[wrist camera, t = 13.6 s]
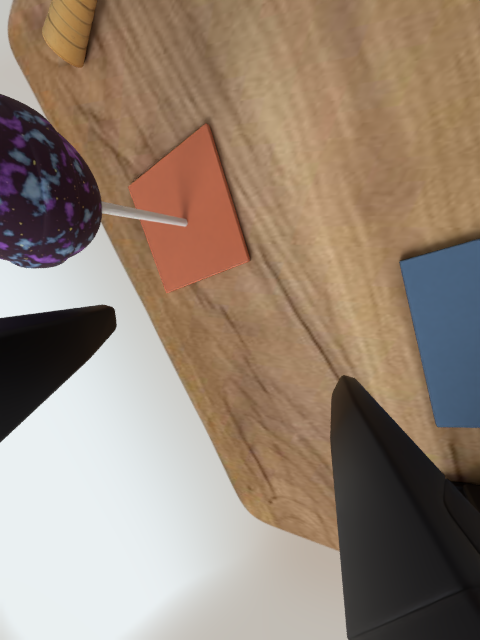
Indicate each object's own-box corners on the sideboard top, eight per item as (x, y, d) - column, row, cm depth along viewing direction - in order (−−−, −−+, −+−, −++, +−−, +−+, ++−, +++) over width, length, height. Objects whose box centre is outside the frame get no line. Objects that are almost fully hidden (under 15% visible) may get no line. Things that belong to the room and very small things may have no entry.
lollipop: (231, 229, 19) (-38, 177, 6) (181, 275, 22) (-58, 305, 9) (188, 160, 19) (-170, -43, 6) (145, 216, 22) (-141, 165, 9)
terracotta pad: (250, 260, 19) (248, 260, 19) (169, 292, 24) (166, 293, 24) (209, 125, 18) (206, 122, 18) (131, 187, 23) (127, 186, 22)
